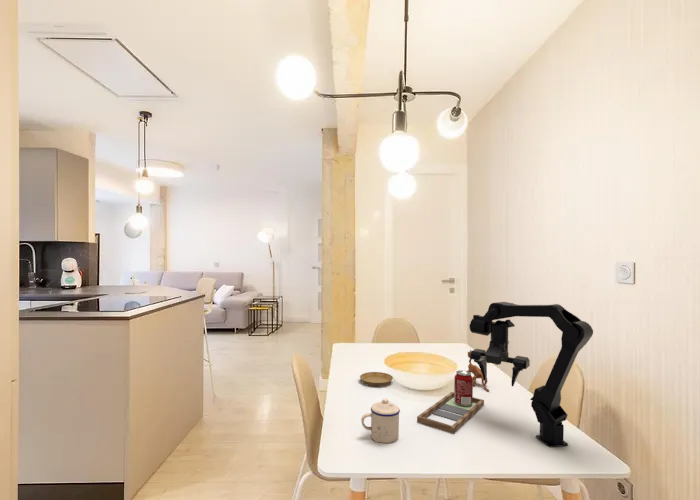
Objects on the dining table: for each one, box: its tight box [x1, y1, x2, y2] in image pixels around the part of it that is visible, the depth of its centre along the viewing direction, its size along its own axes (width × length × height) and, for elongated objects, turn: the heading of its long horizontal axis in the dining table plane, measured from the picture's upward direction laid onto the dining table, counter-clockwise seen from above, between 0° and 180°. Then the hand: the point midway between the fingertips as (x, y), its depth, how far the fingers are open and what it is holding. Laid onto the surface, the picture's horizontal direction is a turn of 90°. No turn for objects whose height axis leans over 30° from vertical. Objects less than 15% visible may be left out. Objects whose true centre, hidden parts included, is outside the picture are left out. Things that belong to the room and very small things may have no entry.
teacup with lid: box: [360, 398, 401, 444], centre depth 117 cm, size 12×9×12 cm
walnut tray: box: [416, 391, 485, 435], centre depth 135 cm, size 30×13×2 cm, turn 143°
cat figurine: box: [466, 349, 490, 392], centre depth 166 cm, size 18×7×14 cm, turn 11°
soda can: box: [453, 369, 474, 407], centre depth 143 cm, size 7×7×12 cm
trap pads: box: [431, 404, 468, 422], centre depth 135 cm, size 11×11×1 cm
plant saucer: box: [359, 371, 394, 387], centre depth 167 cm, size 15×15×3 cm
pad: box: [445, 398, 476, 411], centre depth 143 cm, size 8×11×1 cm
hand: (498, 383), depth 130 cm, fingers open, 9 cm apart
